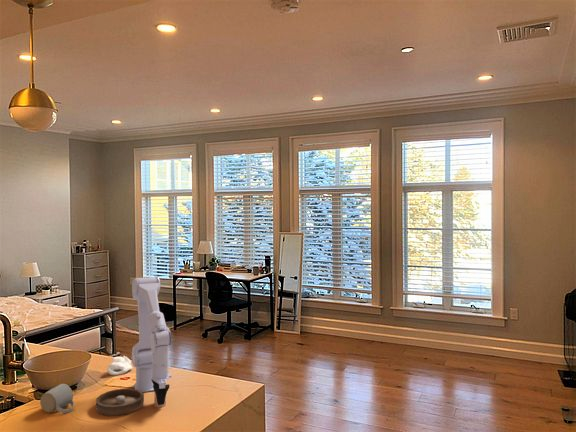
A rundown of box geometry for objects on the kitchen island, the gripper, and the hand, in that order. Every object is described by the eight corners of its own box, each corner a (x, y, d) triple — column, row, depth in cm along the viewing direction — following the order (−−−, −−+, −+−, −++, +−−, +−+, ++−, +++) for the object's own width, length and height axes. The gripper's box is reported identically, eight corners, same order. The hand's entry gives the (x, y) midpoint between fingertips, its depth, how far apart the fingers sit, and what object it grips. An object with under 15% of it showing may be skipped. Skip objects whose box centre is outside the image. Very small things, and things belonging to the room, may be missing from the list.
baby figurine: (107, 378, 187) (101, 360, 190) (119, 379, 198) (113, 362, 202) (126, 368, 188) (120, 350, 191) (137, 370, 199) (131, 353, 203)
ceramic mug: (38, 412, 154) (38, 390, 154) (56, 402, 162) (57, 381, 162) (62, 417, 151) (62, 394, 151) (80, 407, 159) (80, 386, 159)
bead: (153, 403, 162) (154, 390, 162) (165, 402, 164) (165, 388, 164) (154, 408, 158) (154, 394, 158) (166, 406, 160) (166, 392, 160)
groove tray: (96, 400, 164) (97, 391, 164) (142, 394, 170) (142, 386, 170) (95, 419, 150) (95, 409, 150) (144, 412, 155) (144, 402, 155)
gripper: (174, 369, 156) (173, 407, 156) (169, 356, 169) (169, 392, 169) (153, 371, 153) (152, 410, 153) (150, 358, 167) (149, 394, 167)
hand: (160, 401), depth 161 cm, fingers open, 5 cm apart
